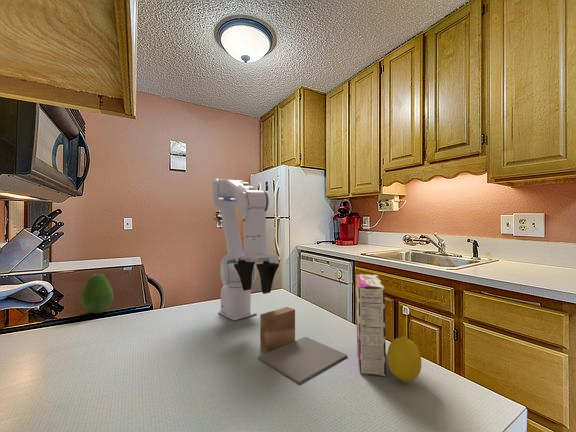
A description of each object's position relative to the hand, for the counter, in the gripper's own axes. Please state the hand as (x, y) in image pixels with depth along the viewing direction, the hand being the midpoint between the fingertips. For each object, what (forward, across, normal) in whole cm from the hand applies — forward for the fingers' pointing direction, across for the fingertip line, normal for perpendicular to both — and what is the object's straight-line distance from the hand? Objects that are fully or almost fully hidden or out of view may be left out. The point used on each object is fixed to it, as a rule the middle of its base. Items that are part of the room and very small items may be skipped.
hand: (256, 291), depth 69 cm
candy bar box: (+13, +26, +8) cm, 30 cm away
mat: (+12, +15, -1) cm, 19 cm away
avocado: (+8, -47, -24) cm, 53 cm away
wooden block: (+11, +7, 0) cm, 13 cm away
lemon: (+13, +34, +5) cm, 37 cm away
